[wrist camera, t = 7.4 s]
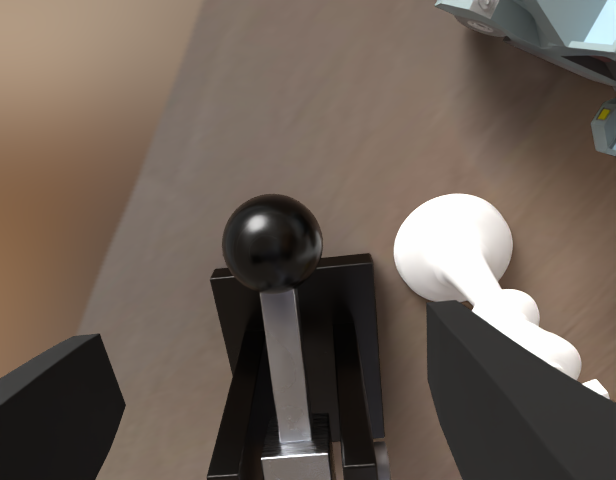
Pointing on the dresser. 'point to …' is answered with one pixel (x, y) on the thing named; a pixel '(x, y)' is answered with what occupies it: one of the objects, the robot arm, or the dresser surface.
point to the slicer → (320, 369)
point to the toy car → (555, 41)
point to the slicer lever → (283, 327)
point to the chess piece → (476, 273)
